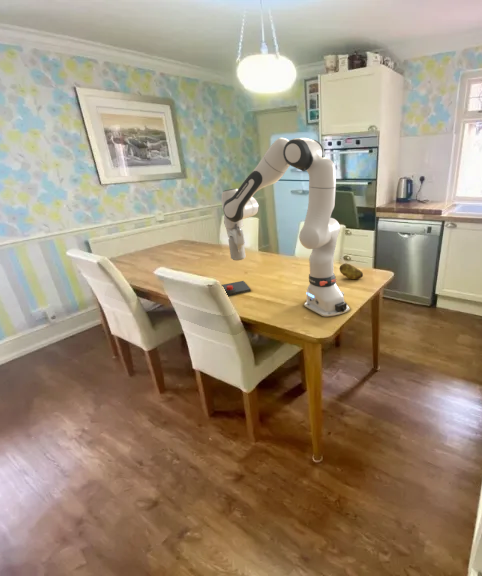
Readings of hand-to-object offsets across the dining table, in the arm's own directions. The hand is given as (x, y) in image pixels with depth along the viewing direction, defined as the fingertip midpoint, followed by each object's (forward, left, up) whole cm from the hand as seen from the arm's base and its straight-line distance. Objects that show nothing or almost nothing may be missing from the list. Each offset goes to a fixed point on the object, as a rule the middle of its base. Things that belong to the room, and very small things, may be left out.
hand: (237, 250), depth 162 cm
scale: (+1, +3, -21) cm, 21 cm away
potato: (-17, -58, -21) cm, 64 cm away
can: (0, 0, -5) cm, 5 cm away
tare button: (-4, +7, -19) cm, 20 cm away
